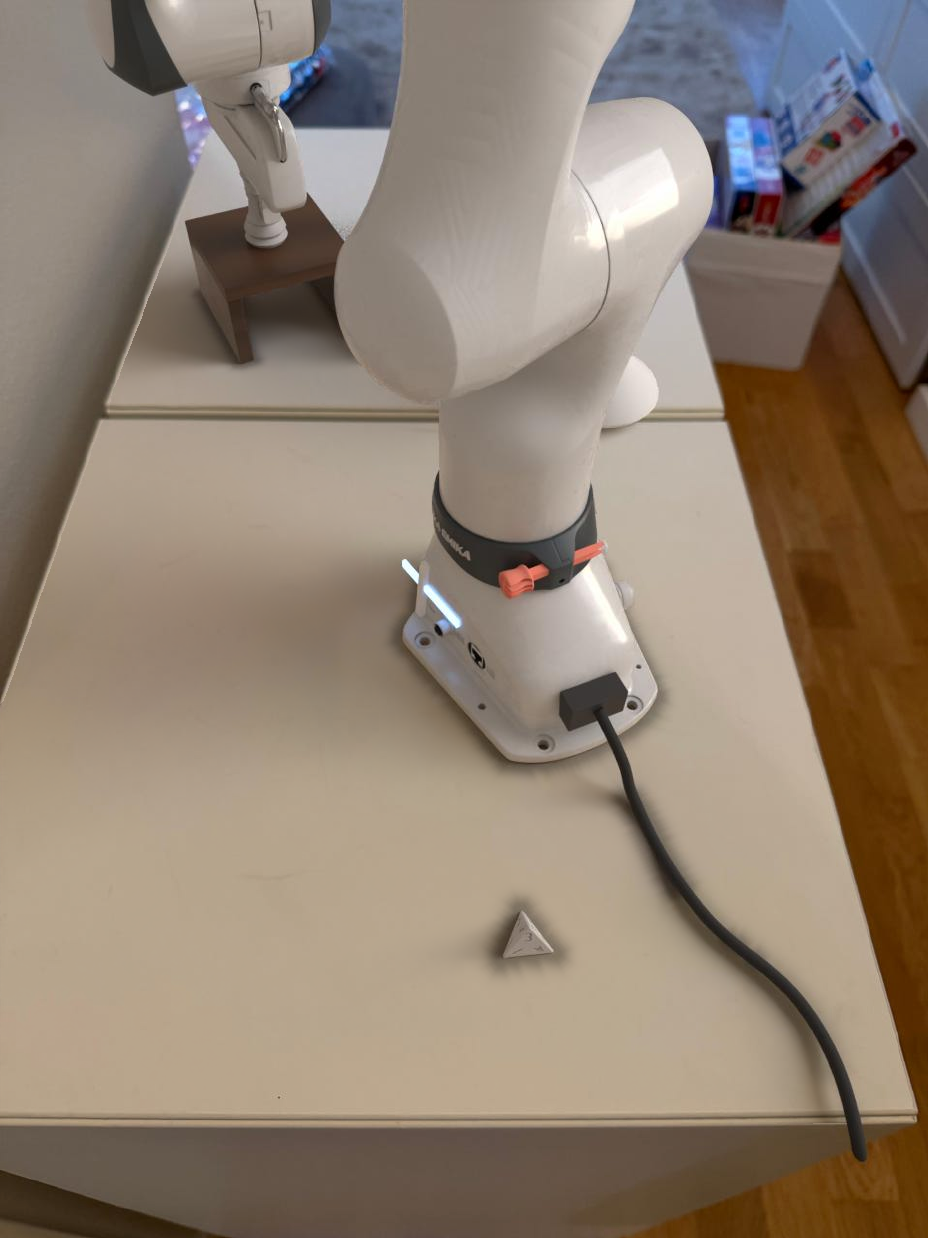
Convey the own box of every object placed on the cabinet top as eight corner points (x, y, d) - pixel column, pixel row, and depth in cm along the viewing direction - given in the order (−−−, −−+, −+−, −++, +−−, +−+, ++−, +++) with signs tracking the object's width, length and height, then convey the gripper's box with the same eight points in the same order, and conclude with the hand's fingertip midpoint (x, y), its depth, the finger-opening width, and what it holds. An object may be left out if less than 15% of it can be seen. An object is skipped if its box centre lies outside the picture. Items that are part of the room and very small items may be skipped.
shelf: (362, 329, 102) (355, 255, 95) (240, 364, 98) (224, 289, 91) (316, 264, 110) (307, 191, 103) (202, 294, 106) (184, 220, 99)
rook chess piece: (287, 225, 98) (276, 149, 92) (289, 248, 96) (278, 172, 89) (244, 228, 98) (230, 152, 91) (246, 251, 95) (231, 175, 89)
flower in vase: (661, 440, 92) (721, 198, 72) (547, 437, 92) (575, 195, 72) (648, 358, 100) (698, 120, 80) (543, 355, 100) (567, 116, 80)
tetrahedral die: (537, 978, 62) (555, 972, 59) (501, 957, 62) (518, 950, 59) (555, 930, 64) (573, 923, 61) (520, 910, 63) (537, 902, 61)
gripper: (313, 105, 79) (330, 254, 90) (238, 16, 90) (260, 158, 101) (242, 120, 77) (268, 269, 88) (174, 27, 88) (204, 171, 99)
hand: (263, 209), depth 94 cm, fingers closed on rook chess piece, 3 cm apart
